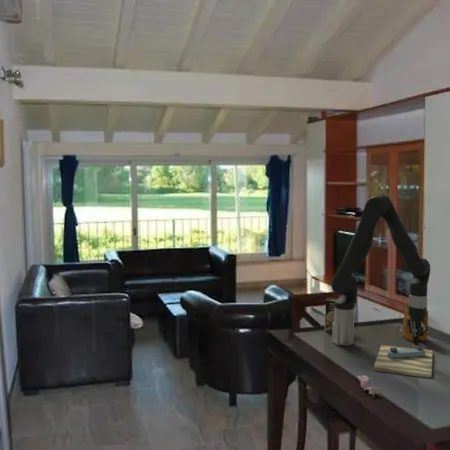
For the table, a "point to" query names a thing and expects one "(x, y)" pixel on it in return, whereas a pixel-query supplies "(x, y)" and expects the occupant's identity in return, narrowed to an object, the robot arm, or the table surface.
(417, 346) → the block
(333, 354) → the table surface
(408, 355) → the link
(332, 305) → the coffee box
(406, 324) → the coffee package
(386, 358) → the pivot board
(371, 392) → the rabbit figure
